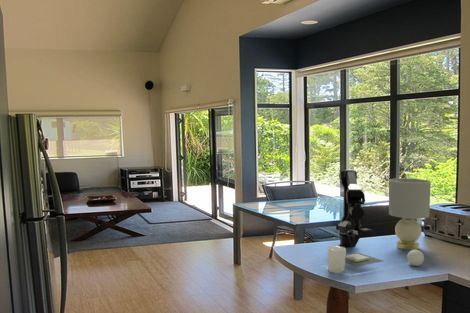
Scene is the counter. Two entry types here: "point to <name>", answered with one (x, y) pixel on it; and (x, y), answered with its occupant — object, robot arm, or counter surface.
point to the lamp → (409, 209)
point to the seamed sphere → (415, 257)
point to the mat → (354, 263)
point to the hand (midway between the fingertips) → (353, 247)
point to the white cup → (336, 259)
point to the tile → (357, 257)
